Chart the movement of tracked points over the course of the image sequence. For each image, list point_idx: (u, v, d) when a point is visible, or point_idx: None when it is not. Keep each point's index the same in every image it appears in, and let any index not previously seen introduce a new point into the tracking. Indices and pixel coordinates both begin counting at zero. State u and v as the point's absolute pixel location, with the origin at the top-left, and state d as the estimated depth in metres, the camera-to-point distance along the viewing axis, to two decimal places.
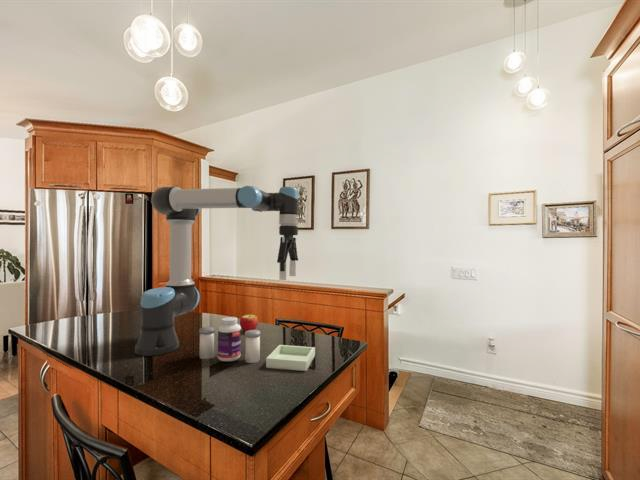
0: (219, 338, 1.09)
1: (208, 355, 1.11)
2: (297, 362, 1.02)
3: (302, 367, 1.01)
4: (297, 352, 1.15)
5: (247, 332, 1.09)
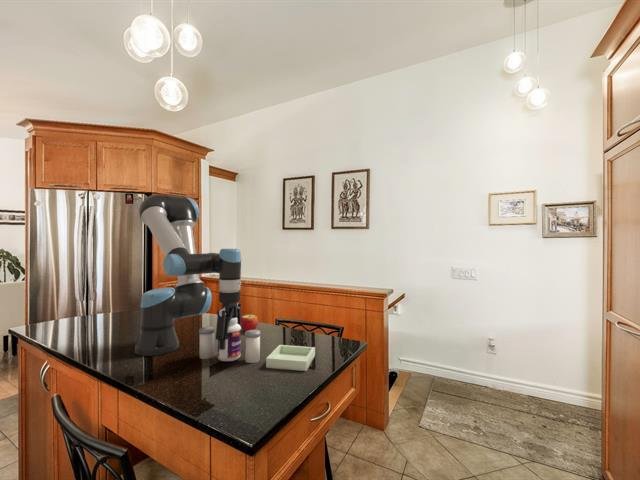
0: None
1: (208, 355, 1.11)
2: (297, 362, 1.02)
3: (302, 367, 1.01)
4: (297, 352, 1.15)
5: (247, 332, 1.09)
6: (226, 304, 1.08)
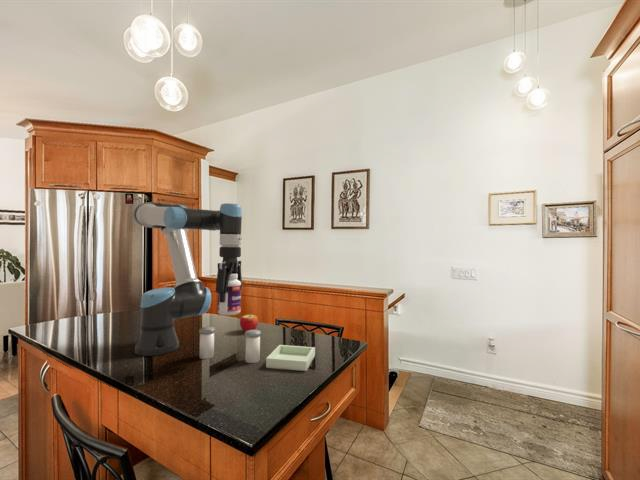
0: None
1: (208, 355, 1.11)
2: (297, 362, 1.02)
3: (302, 367, 1.01)
4: (297, 352, 1.15)
5: (247, 332, 1.09)
6: (226, 258, 1.08)
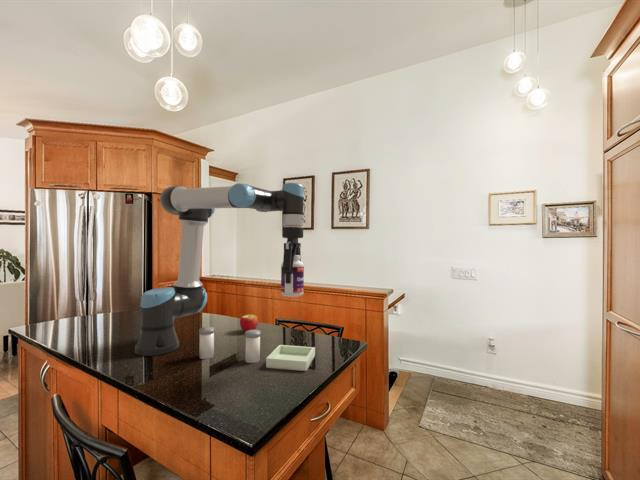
0: None
1: (208, 355, 1.11)
2: (297, 362, 1.02)
3: (302, 367, 1.01)
4: (297, 352, 1.15)
5: (247, 332, 1.09)
6: (291, 238, 1.06)
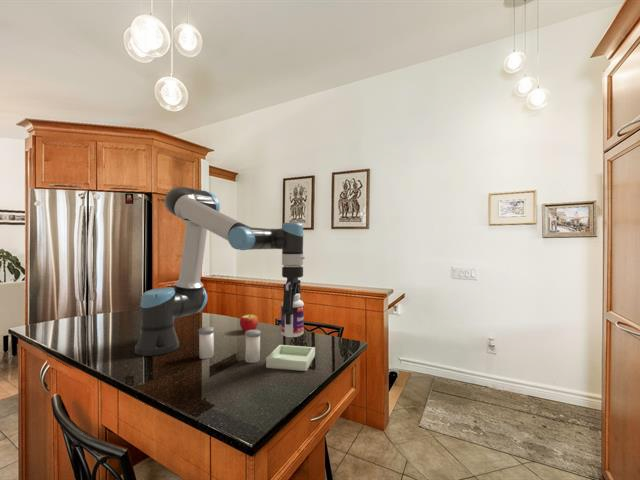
0: None
1: (208, 355, 1.11)
2: (297, 362, 1.02)
3: (302, 367, 1.01)
4: (297, 352, 1.15)
5: (247, 332, 1.09)
6: (291, 278, 1.06)
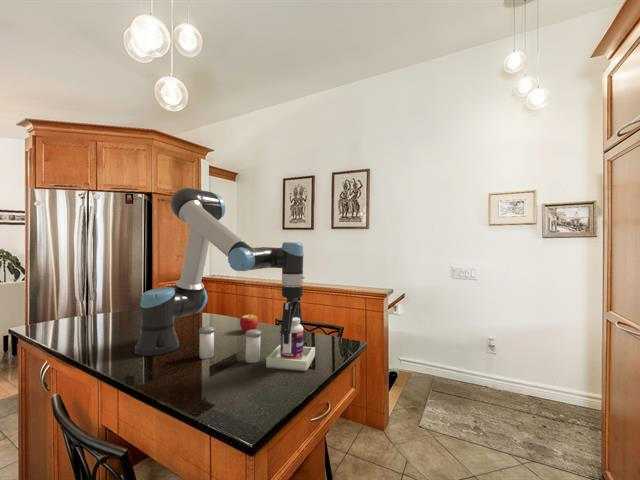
0: None
1: (208, 355, 1.11)
2: (297, 362, 1.02)
3: (302, 367, 1.01)
4: None
5: (248, 332, 1.09)
6: (291, 298, 1.06)
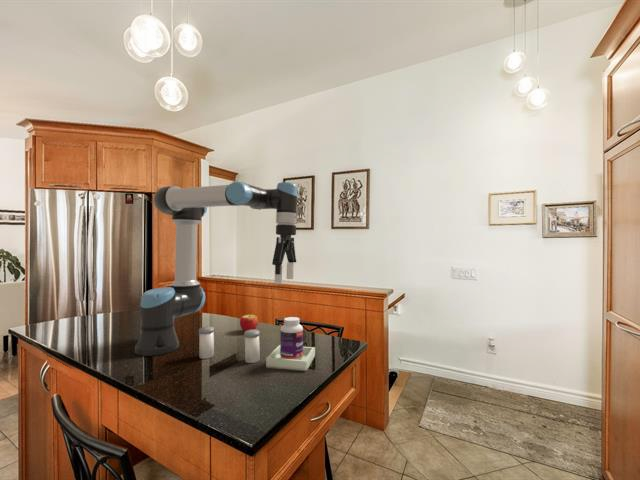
0: (283, 339, 1.07)
1: (209, 355, 1.11)
2: (297, 362, 1.02)
3: (302, 367, 1.01)
4: None
5: (246, 332, 1.09)
6: None
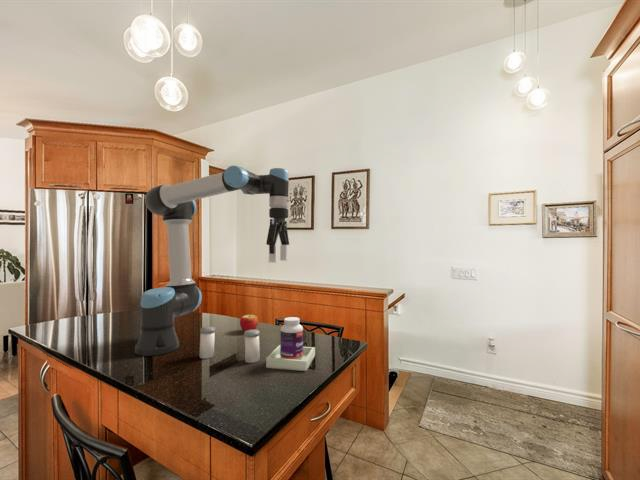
0: (283, 339, 1.07)
1: (209, 355, 1.11)
2: (297, 362, 1.02)
3: (302, 367, 1.01)
4: None
5: (246, 332, 1.09)
6: None
